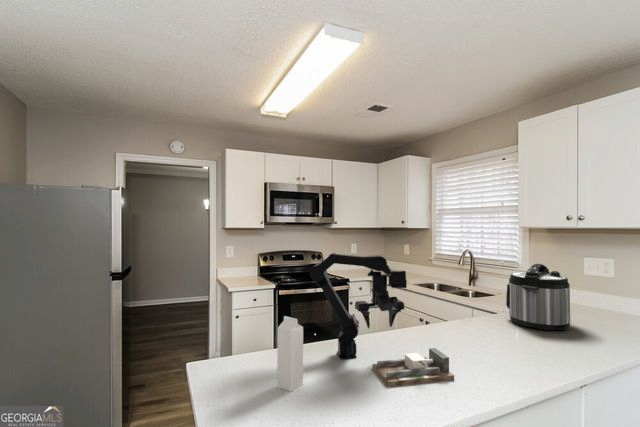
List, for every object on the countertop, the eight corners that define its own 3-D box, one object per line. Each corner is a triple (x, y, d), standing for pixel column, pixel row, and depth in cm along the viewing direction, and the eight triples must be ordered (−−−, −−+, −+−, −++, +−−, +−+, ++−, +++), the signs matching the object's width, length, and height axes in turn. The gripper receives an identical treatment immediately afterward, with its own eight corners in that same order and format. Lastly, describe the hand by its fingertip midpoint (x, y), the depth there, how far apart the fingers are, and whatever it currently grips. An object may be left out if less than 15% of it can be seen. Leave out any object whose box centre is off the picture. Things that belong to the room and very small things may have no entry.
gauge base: (387, 386, 108) (387, 366, 109) (372, 368, 122) (372, 350, 122) (454, 379, 113) (454, 360, 114) (432, 362, 127) (432, 345, 127)
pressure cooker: (541, 315, 193) (540, 260, 194) (587, 331, 166) (586, 266, 166) (494, 317, 189) (493, 261, 190) (533, 334, 161) (533, 267, 162)
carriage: (417, 377, 111) (417, 365, 111) (404, 365, 121) (404, 353, 121) (442, 374, 113) (442, 362, 113) (427, 363, 123) (427, 352, 123)
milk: (289, 379, 113) (289, 313, 114) (303, 384, 110) (303, 316, 110) (276, 386, 108) (277, 317, 109) (290, 392, 105) (291, 321, 105)
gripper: (363, 292, 122) (363, 335, 122) (411, 290, 126) (411, 332, 126) (354, 286, 133) (354, 326, 133) (398, 285, 137) (398, 323, 137)
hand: (379, 327), depth 132 cm, fingers open, 9 cm apart
